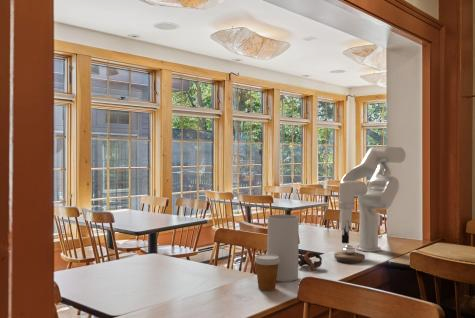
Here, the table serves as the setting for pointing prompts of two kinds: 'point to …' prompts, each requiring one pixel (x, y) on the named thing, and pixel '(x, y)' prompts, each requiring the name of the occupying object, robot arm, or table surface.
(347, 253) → the cover
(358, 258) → the disc
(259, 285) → the disposable coffee cup
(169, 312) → the table surface
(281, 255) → the cylinder vase
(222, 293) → the table surface
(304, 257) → the brown ornate stand
